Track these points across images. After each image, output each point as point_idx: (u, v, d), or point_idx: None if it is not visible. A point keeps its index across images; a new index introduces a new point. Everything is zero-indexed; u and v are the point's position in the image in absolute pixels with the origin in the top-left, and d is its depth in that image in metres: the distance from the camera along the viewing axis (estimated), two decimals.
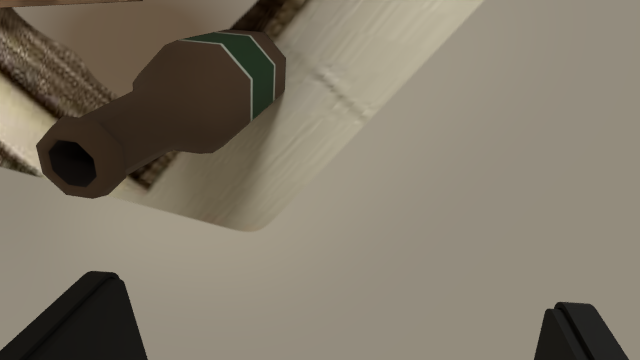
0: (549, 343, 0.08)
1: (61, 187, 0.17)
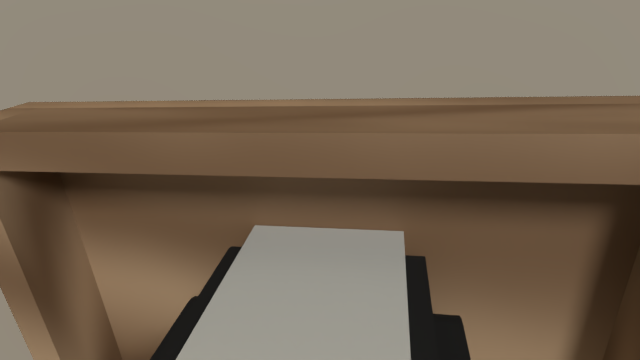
0: None
1: None
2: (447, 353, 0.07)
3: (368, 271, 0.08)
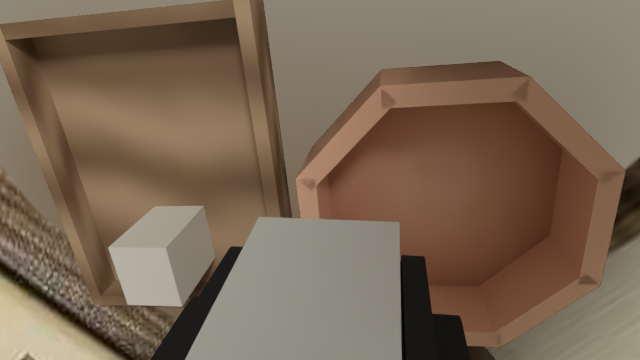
0: None
1: None
2: (446, 353, 0.07)
3: (365, 262, 0.08)
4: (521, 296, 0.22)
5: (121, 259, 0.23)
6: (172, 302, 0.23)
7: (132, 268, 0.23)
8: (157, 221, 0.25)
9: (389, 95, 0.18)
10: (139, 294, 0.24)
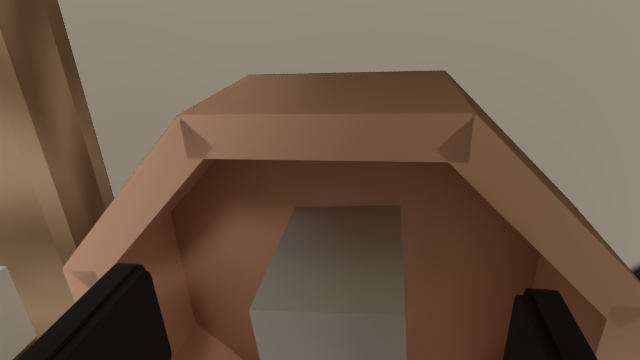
0: (517, 327, 0.08)
1: None
2: None
3: (376, 230, 0.12)
4: None
5: None
6: None
7: None
8: None
9: (198, 133, 0.09)
10: None
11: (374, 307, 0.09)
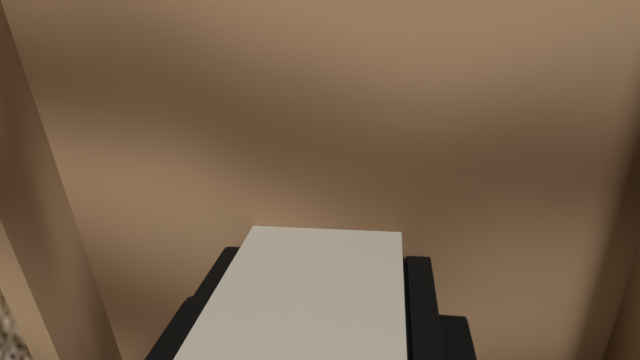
0: None
1: None
2: (453, 354, 0.07)
3: None
4: None
5: None
6: None
7: None
8: (287, 286, 0.08)
9: None
10: None
11: None
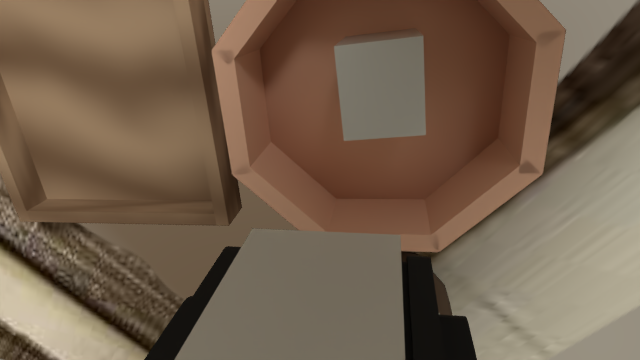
0: None
1: None
2: (453, 354, 0.07)
3: (401, 31, 0.19)
4: (462, 196, 0.20)
5: None
6: None
7: None
8: (287, 289, 0.08)
9: None
10: None
11: (405, 37, 0.16)
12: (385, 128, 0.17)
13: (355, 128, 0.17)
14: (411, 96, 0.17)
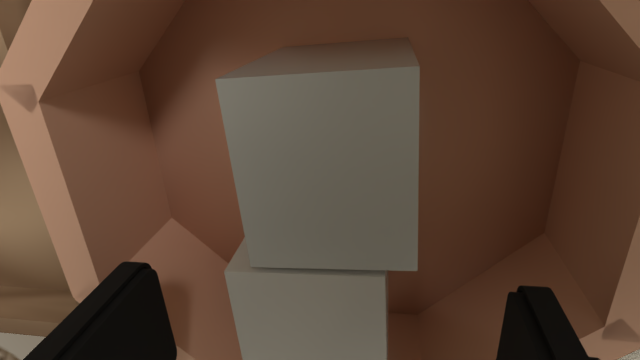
0: (510, 324, 0.08)
1: None
2: None
3: (379, 45, 0.10)
4: (483, 348, 0.11)
5: (254, 301, 0.09)
6: None
7: (278, 323, 0.09)
8: None
9: None
10: None
11: (378, 66, 0.07)
12: (333, 251, 0.08)
13: (272, 246, 0.08)
14: (387, 194, 0.07)
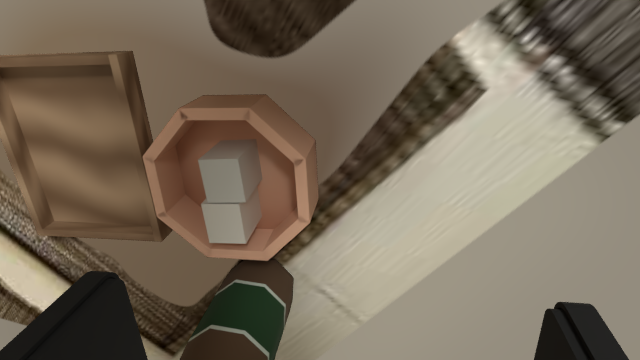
0: (549, 343, 0.08)
1: None
2: None
3: (243, 144, 0.36)
4: (280, 231, 0.38)
5: (208, 212, 0.36)
6: (239, 240, 0.36)
7: (215, 218, 0.36)
8: None
9: (183, 113, 0.33)
10: (218, 235, 0.36)
11: (231, 157, 0.33)
12: (226, 198, 0.35)
13: (212, 197, 0.35)
14: (236, 184, 0.34)
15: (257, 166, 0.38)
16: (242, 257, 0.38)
